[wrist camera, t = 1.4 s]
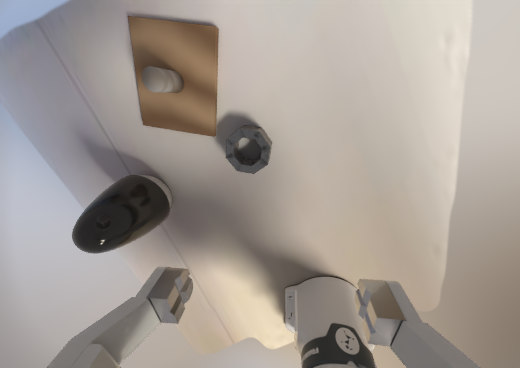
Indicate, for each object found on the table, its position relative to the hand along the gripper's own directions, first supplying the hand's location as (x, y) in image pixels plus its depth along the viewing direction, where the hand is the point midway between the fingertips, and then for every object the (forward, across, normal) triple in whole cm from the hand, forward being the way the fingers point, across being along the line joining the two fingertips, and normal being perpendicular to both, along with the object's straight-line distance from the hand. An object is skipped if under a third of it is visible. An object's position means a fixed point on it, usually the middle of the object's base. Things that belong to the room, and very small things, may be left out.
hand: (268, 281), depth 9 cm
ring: (+24, +5, 0) cm, 25 cm away
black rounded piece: (+24, +25, +8) cm, 36 cm away
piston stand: (+25, +15, -10) cm, 31 cm away
